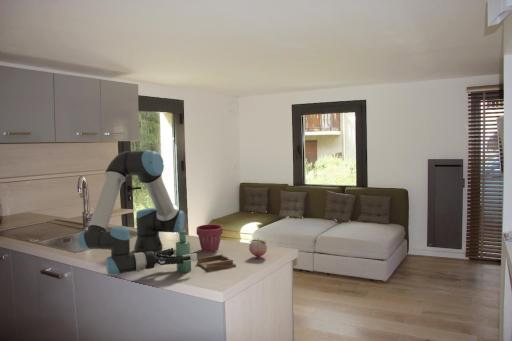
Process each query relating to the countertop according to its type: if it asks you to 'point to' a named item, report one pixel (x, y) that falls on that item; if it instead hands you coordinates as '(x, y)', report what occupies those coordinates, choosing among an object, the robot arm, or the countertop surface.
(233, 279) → the countertop surface
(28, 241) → the countertop surface
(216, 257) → the u rest
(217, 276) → the countertop surface
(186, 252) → the green bottle
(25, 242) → the countertop surface
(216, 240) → the plant pot
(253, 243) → the decorative fruit
